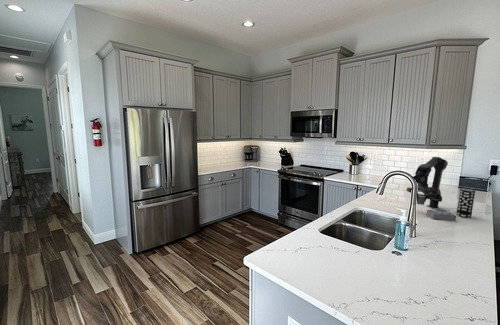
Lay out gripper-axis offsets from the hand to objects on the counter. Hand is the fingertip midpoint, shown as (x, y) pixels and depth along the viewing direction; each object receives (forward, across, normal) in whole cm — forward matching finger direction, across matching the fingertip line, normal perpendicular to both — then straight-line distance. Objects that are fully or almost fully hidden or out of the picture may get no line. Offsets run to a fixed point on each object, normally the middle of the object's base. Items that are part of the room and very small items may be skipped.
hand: (420, 201), depth 183 cm
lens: (+2, 0, 0) cm, 2 cm away
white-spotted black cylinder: (+8, +28, -3) cm, 29 cm away
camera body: (+8, +9, -11) cm, 16 cm away
